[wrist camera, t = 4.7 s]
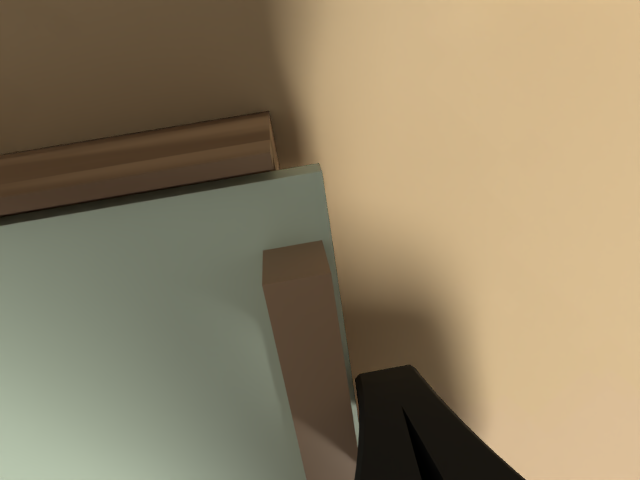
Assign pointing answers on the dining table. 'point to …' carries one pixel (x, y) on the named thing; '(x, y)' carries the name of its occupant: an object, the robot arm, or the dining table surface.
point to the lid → (177, 337)
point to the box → (136, 163)
